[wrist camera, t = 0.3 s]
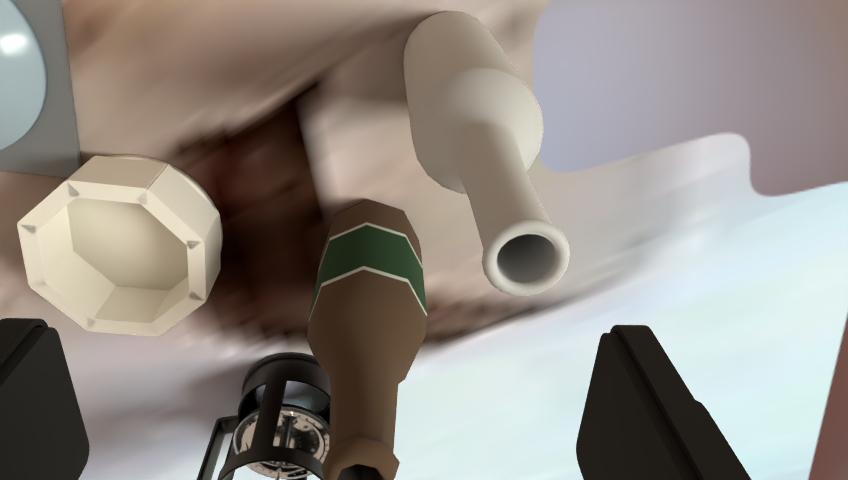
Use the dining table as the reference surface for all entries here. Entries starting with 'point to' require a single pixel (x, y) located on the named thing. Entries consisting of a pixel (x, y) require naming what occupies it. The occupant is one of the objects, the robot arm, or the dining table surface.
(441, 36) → the bottle
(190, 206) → the bowl
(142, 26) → the dining table surface
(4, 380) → the robot arm
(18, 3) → the mat
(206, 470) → the french press
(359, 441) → the beer bottle
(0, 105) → the lid
